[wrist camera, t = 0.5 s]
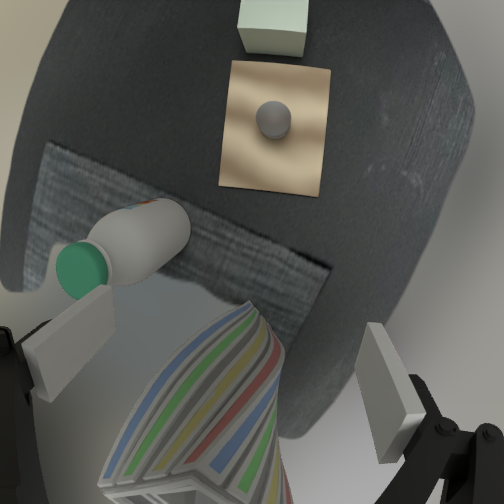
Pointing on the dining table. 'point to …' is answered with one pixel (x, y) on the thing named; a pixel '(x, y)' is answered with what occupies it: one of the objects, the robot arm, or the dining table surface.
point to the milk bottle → (124, 247)
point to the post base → (270, 154)
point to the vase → (206, 422)
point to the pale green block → (273, 26)
